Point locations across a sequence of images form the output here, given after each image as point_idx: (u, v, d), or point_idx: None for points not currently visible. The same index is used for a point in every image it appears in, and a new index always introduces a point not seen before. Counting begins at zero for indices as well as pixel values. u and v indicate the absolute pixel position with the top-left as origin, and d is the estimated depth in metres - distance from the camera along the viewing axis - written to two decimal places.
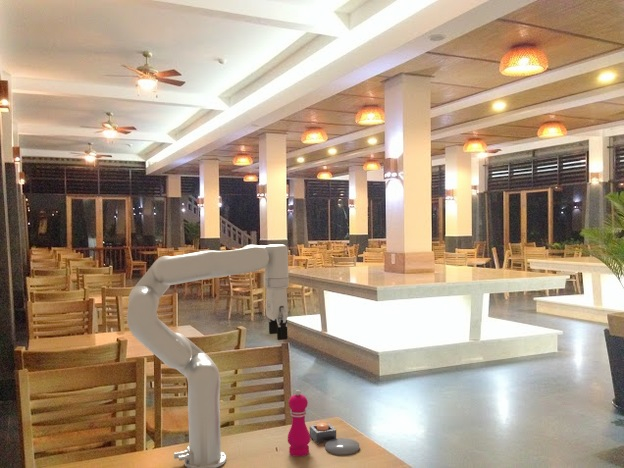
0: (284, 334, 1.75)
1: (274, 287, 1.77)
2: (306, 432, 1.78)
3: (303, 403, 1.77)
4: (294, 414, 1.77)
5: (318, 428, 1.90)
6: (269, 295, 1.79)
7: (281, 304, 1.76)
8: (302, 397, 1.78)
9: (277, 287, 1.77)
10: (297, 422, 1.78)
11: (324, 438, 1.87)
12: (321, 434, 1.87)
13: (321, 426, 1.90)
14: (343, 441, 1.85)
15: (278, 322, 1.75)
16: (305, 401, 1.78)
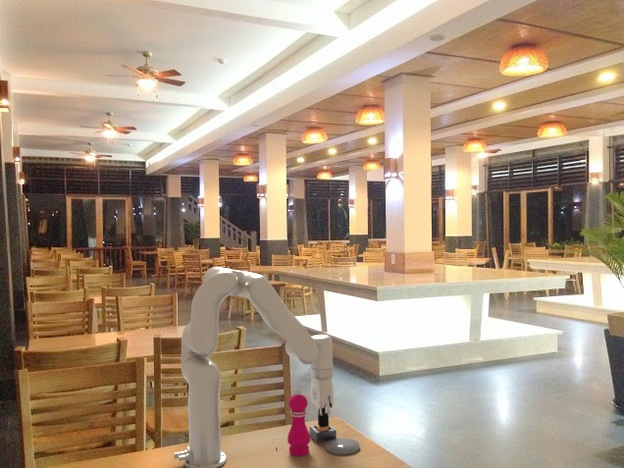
0: (326, 422, 1.90)
1: (320, 377, 1.87)
2: (306, 432, 1.78)
3: (303, 403, 1.77)
4: (294, 414, 1.77)
5: (318, 429, 1.90)
6: (315, 384, 1.89)
7: (327, 394, 1.86)
8: (302, 397, 1.78)
9: (323, 377, 1.87)
10: (297, 422, 1.78)
11: (324, 438, 1.87)
12: (321, 434, 1.87)
13: (321, 427, 1.90)
14: (343, 441, 1.85)
15: (321, 412, 1.89)
16: (305, 401, 1.78)
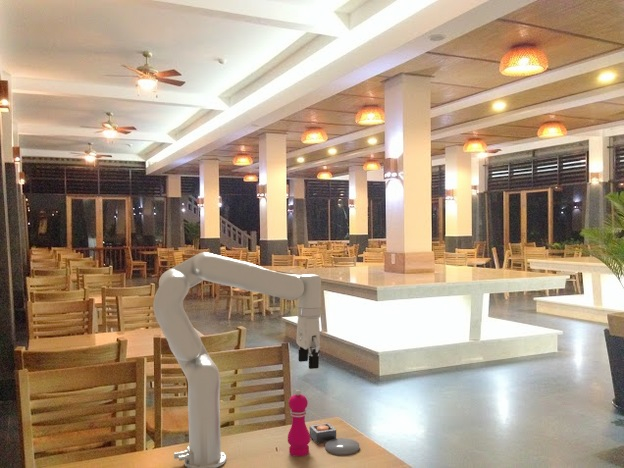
0: (316, 363, 1.79)
1: (307, 316, 1.81)
2: (306, 432, 1.78)
3: (303, 403, 1.77)
4: (294, 414, 1.77)
5: (318, 430, 1.90)
6: (302, 324, 1.82)
7: (314, 333, 1.80)
8: (302, 397, 1.78)
9: (310, 317, 1.81)
10: (297, 422, 1.78)
11: (324, 438, 1.87)
12: (321, 434, 1.87)
13: (321, 428, 1.90)
14: (343, 441, 1.85)
15: (310, 351, 1.79)
16: (305, 401, 1.78)
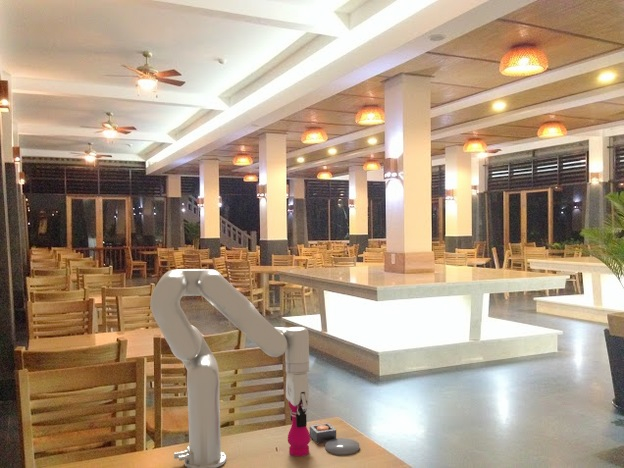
0: (303, 422, 1.76)
1: (295, 372, 1.75)
2: (306, 432, 1.78)
3: None
4: (294, 414, 1.77)
5: (318, 430, 1.90)
6: (290, 379, 1.77)
7: (302, 390, 1.74)
8: None
9: (298, 372, 1.75)
10: None
11: (324, 438, 1.87)
12: (321, 434, 1.87)
13: (321, 428, 1.90)
14: (343, 441, 1.85)
15: (298, 410, 1.75)
16: None
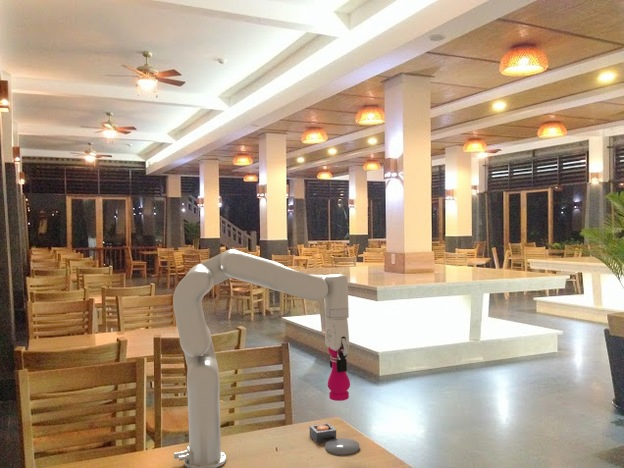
0: (344, 366, 1.78)
1: (335, 317, 1.77)
2: (346, 377, 1.80)
3: None
4: (334, 359, 1.79)
5: (318, 430, 1.90)
6: (330, 325, 1.79)
7: (343, 335, 1.76)
8: None
9: (338, 317, 1.77)
10: None
11: (324, 438, 1.87)
12: (321, 434, 1.87)
13: (321, 428, 1.90)
14: (343, 441, 1.85)
15: (338, 355, 1.77)
16: None
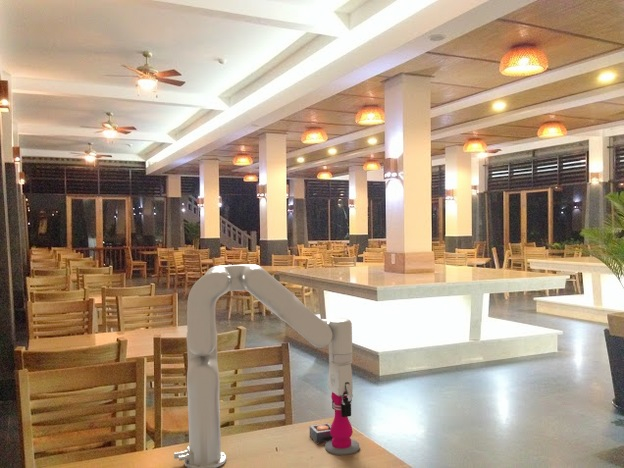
0: (348, 411, 1.78)
1: (339, 363, 1.78)
2: (349, 425, 1.81)
3: (346, 396, 1.80)
4: (337, 407, 1.80)
5: (318, 430, 1.90)
6: (334, 370, 1.80)
7: (346, 380, 1.77)
8: None
9: (342, 363, 1.78)
10: (340, 415, 1.80)
11: (324, 438, 1.87)
12: (321, 434, 1.87)
13: (321, 428, 1.90)
14: None
15: (343, 400, 1.77)
16: None
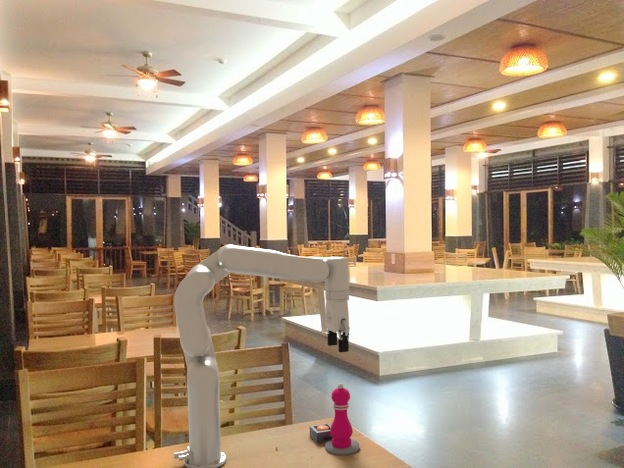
0: (346, 346, 1.76)
1: (336, 299, 1.78)
2: (349, 425, 1.81)
3: (346, 396, 1.80)
4: (337, 407, 1.80)
5: (318, 430, 1.90)
6: (330, 307, 1.80)
7: (343, 316, 1.77)
8: (345, 390, 1.81)
9: (339, 299, 1.78)
10: (340, 415, 1.80)
11: (324, 438, 1.87)
12: (321, 434, 1.87)
13: (321, 428, 1.90)
14: None
15: (340, 334, 1.76)
16: (348, 394, 1.81)
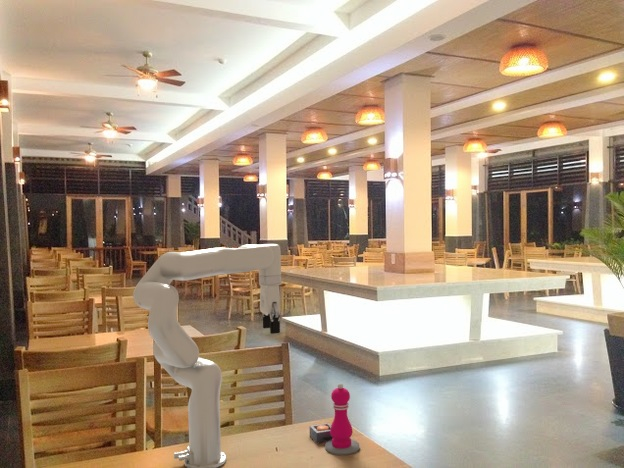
0: (277, 328, 1.87)
1: (267, 284, 1.88)
2: (349, 425, 1.81)
3: (346, 396, 1.80)
4: (337, 407, 1.80)
5: (318, 430, 1.90)
6: (263, 291, 1.90)
7: (274, 300, 1.87)
8: (345, 390, 1.81)
9: (270, 284, 1.88)
10: (340, 415, 1.80)
11: (324, 438, 1.87)
12: (321, 434, 1.87)
13: (321, 428, 1.90)
14: None
15: (271, 317, 1.87)
16: (348, 394, 1.81)
